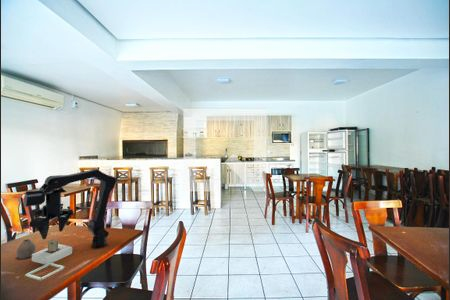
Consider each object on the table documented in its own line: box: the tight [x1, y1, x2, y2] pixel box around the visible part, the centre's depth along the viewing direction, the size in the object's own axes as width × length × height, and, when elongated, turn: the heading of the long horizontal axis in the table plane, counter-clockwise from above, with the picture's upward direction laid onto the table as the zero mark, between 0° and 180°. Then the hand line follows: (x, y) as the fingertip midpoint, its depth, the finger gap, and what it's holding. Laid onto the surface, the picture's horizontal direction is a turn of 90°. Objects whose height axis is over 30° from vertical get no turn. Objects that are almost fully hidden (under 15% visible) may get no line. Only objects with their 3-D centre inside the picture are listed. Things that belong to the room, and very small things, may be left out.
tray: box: [24, 262, 66, 282], centre depth 96 cm, size 10×9×2 cm
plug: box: [47, 238, 59, 254], centre depth 108 cm, size 4×4×8 cm
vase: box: [16, 238, 37, 260], centre depth 108 cm, size 7×7×9 cm
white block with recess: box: [31, 243, 73, 265], centre depth 108 cm, size 12×10×4 cm
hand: (52, 235), depth 105 cm, fingers open, 9 cm apart
